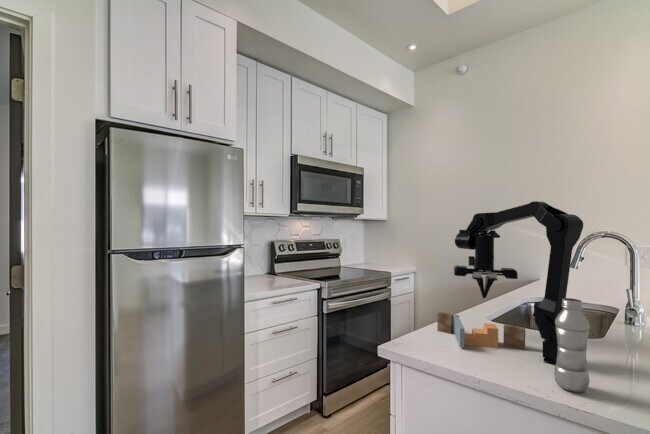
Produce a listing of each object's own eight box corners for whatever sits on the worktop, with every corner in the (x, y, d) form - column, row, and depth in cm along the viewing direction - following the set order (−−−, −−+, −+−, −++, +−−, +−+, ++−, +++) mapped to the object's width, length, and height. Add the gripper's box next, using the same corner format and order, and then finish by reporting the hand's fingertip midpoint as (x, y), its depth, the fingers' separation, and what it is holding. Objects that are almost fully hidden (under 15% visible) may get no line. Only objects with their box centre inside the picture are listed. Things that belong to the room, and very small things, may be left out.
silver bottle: (547, 384, 79) (547, 297, 80) (567, 380, 82) (567, 295, 82) (575, 398, 73) (576, 304, 74) (596, 392, 76) (597, 302, 76)
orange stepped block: (462, 345, 105) (462, 326, 105) (460, 339, 110) (460, 321, 110) (498, 348, 102) (498, 328, 102) (494, 342, 107) (494, 324, 107)
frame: (525, 348, 102) (525, 327, 102) (523, 350, 100) (523, 329, 101) (439, 329, 119) (439, 311, 119) (437, 330, 117) (437, 313, 117)
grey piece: (452, 332, 115) (453, 314, 115) (458, 332, 115) (458, 315, 115) (458, 348, 101) (459, 328, 101) (465, 348, 100) (465, 328, 100)
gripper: (510, 250, 119) (510, 295, 119) (453, 248, 125) (452, 291, 125) (518, 252, 109) (517, 302, 109) (455, 250, 114) (454, 297, 114)
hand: (484, 297), depth 114 cm, fingers closed
